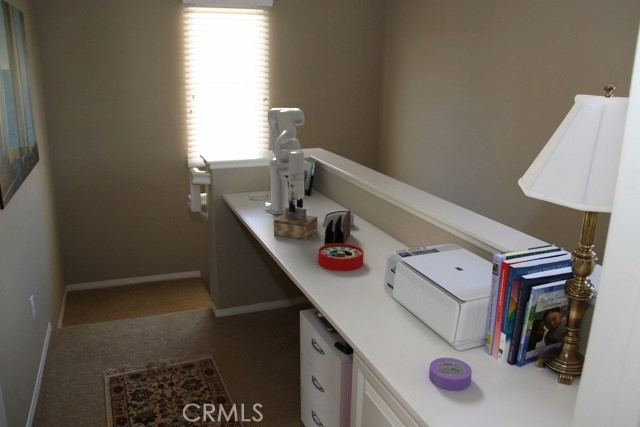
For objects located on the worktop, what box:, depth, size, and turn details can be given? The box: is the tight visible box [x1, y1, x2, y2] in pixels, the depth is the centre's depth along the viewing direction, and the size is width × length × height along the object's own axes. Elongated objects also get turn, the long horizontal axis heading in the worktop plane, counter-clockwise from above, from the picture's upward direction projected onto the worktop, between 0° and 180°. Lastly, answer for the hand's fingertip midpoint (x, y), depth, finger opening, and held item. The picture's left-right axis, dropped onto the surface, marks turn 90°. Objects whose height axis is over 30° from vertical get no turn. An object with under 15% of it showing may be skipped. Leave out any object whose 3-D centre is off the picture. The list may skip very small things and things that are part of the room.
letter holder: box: [323, 210, 351, 246], centre depth 276 cm, size 10×20×14 cm, turn 169°
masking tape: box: [428, 357, 473, 392], centre depth 160 cm, size 12×12×4 cm
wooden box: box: [273, 219, 318, 241], centre depth 284 cm, size 18×14×7 cm
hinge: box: [322, 209, 355, 228], centre depth 300 cm, size 17×5×10 cm, turn 107°
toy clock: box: [317, 243, 364, 272], centre depth 247 cm, size 20×6×20 cm
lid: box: [273, 206, 318, 226], centre depth 282 cm, size 18×14×6 cm
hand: (296, 209), depth 281 cm, fingers open, 9 cm apart
